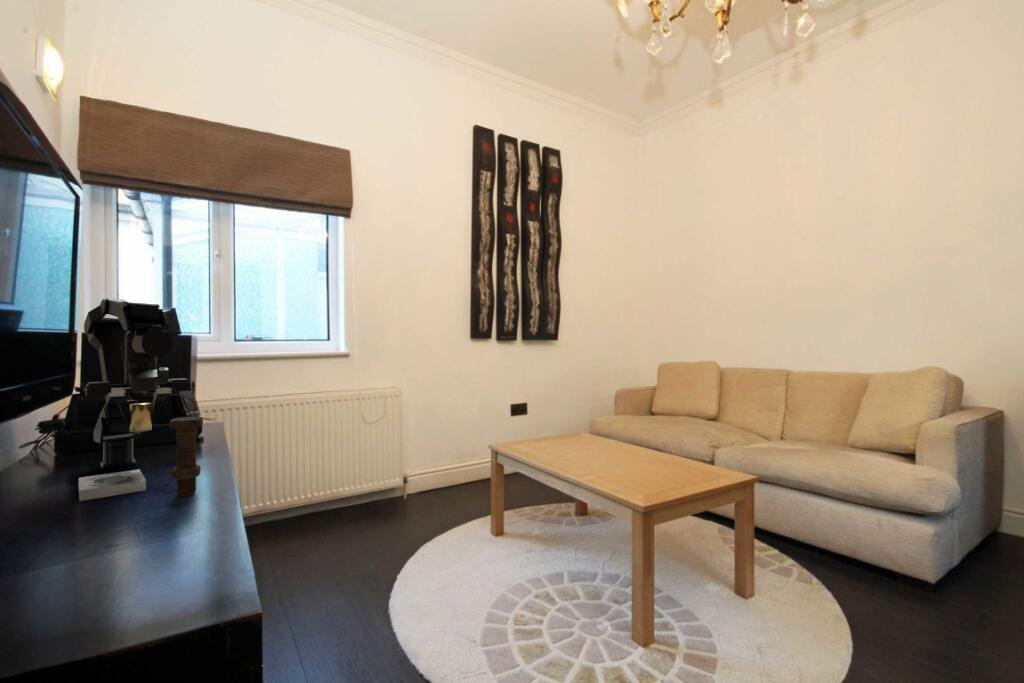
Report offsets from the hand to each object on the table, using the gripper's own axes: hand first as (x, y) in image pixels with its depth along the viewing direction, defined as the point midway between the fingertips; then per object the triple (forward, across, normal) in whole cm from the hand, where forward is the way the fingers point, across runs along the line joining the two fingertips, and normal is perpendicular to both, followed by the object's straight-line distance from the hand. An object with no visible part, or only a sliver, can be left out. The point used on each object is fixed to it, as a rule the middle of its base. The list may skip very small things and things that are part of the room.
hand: (140, 424), depth 109 cm
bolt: (+12, +5, -25) cm, 28 cm away
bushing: (+1, 0, 0) cm, 1 cm away
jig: (+11, -6, -10) cm, 16 cm away
